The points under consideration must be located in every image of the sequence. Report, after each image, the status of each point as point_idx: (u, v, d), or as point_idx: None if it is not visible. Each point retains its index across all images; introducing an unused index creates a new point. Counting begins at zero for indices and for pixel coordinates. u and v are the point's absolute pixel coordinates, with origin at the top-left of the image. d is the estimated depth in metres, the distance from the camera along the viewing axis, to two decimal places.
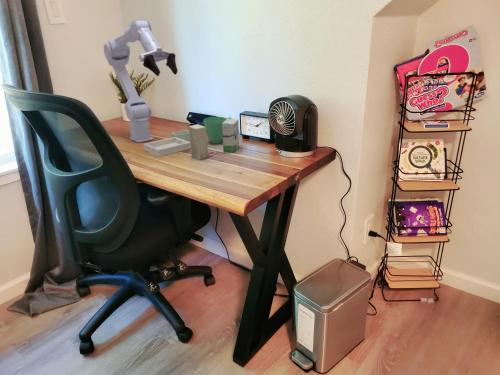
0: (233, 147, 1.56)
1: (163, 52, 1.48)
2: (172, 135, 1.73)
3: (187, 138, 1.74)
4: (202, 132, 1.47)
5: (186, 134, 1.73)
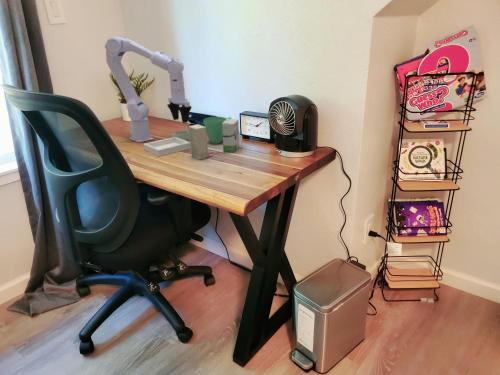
0: (233, 147, 1.56)
1: None
2: (172, 135, 1.73)
3: (187, 138, 1.74)
4: (202, 132, 1.47)
5: (186, 134, 1.73)
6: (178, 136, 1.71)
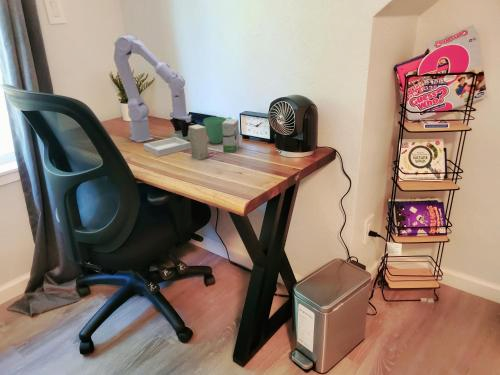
0: (233, 147, 1.56)
1: None
2: (172, 134, 1.73)
3: (187, 137, 1.74)
4: (202, 132, 1.47)
5: None
6: (178, 135, 1.71)
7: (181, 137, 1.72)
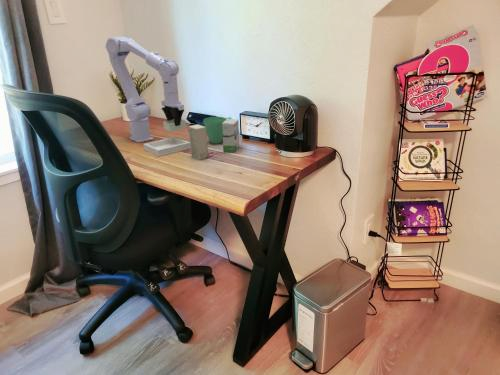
0: (233, 147, 1.56)
1: None
2: (164, 124, 1.65)
3: (180, 127, 1.66)
4: (202, 132, 1.47)
5: None
6: (170, 124, 1.63)
7: (173, 126, 1.64)
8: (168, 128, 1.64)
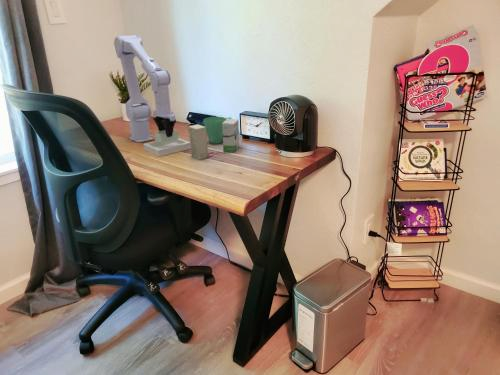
0: (233, 147, 1.56)
1: None
2: (155, 134, 1.59)
3: (172, 138, 1.60)
4: (202, 132, 1.47)
5: None
6: (162, 135, 1.57)
7: (165, 137, 1.58)
8: (159, 139, 1.57)
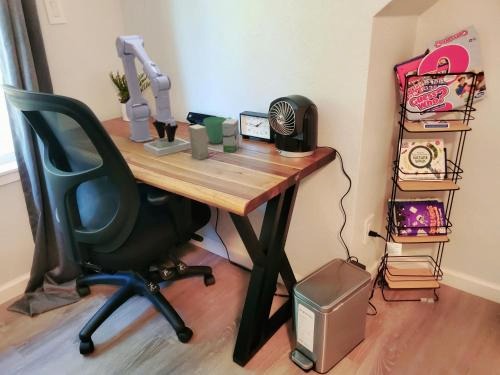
0: (233, 147, 1.56)
1: None
2: (156, 143, 1.60)
3: None
4: (202, 132, 1.47)
5: None
6: (163, 144, 1.58)
7: (166, 145, 1.59)
8: (160, 147, 1.59)
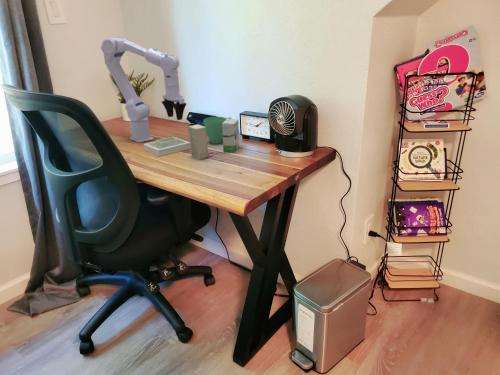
0: (233, 147, 1.56)
1: None
2: (156, 143, 1.60)
3: None
4: (202, 132, 1.47)
5: (171, 141, 1.60)
6: (163, 144, 1.58)
7: (166, 145, 1.59)
8: (160, 147, 1.59)
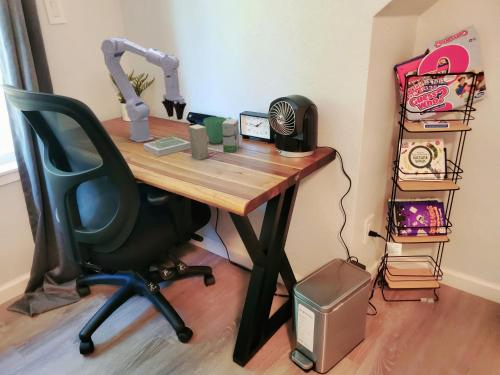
0: (233, 147, 1.56)
1: None
2: (156, 143, 1.60)
3: None
4: (202, 132, 1.47)
5: (171, 141, 1.60)
6: (163, 144, 1.58)
7: (166, 145, 1.59)
8: (160, 147, 1.59)
